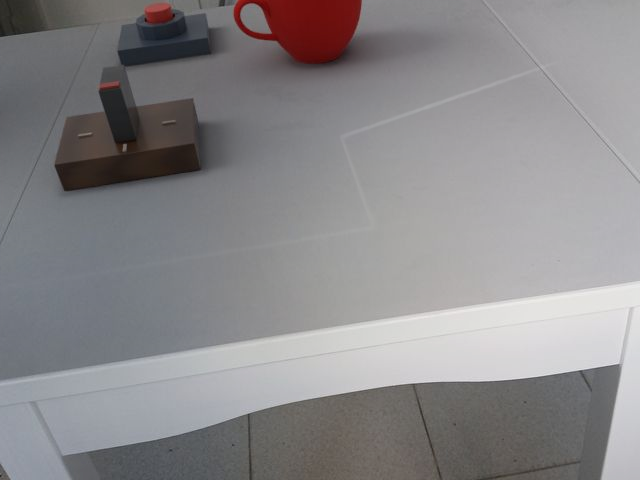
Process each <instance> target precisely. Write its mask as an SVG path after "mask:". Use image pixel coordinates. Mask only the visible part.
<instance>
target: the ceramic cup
mask: <svg viewBox="0 0 640 480" xmlns="http://www.w3.org/2000/svg"><path fill="white" fill-rule="evenodd" d="M249 4H252V5H256V6H258V7H259V8H260V9H261V11H262V12H263V15H264V19H265V21H266V24H267V26H268V29H269V31H270V33H266V32H265V33H262V32H257V31H253V30H251V29H249V28H248V27H247V26H246V25H245V24H244V22H243V21H242V20H243V19H242V17H241V16H242V15H241V13H242V10H243V8H244V7H245V6H247V5H249ZM362 5H363V0H237V1H236V3H235V4H234V7H233V13H232V14H233V19H234V23H235V25H236V26H237V27H238V28H239V30H240V31H241V32H242V33H243V34H245V35H246V36H248V37H250V38H253V39H256V40H260V41H270V42H277V43H278V45H279V46H280V47H281V48H282V49H283V50H284V51H285V52H287V54H288V55H290V56H291V57H292V59H293V60H294V61H297V62H298V63H303V64H322V63H327V62H330V61H333V60H335V59H337V58H339V57H340V56H341V55H342V54H343V52H344V50H345V49H346V47H348V45H349V44H350V42H351V40H352V39H353V37H354V35H355V34H356V33H355V32H356V30H357V28H358V25H359V22H360V17H361V12H362Z"/></svg>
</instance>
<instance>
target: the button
mask: <svg viewBox="0 0 640 480" xmlns="http://www.w3.org/2000/svg"><path fill="white" fill-rule="evenodd" d="M172 9H173V8H172V5H171V4H170V3H168V2H155V3H152V4H148V5H147V6H145V7H144V8H143V12H144V14H145V16H146V19H147V23H161V22H166V21H169V20H171V19H173V18H174V17H173V13H172Z"/></svg>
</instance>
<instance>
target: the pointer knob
mask: <svg viewBox="0 0 640 480" xmlns="http://www.w3.org/2000/svg"><path fill="white" fill-rule="evenodd" d="M130 83H131V82H130V80H129V76H128V73H127V70H126V66H124V65H121V64H119V65H113V66H107V67H102V71H101V77H100V81H99V86H98V90H97V91H98V95H99V98H100V101H101V104H102V107H103V111H105V114H106V117H107V120H108V123H109V126H110V129H111V132H112V135H113V139H114V142H115V143H120V142H127V141H133V140H136V139H137V128H138V117H139V114H138V110H137V104H136V100H135V97H134V94H133V90H132V87H131V84H130Z"/></svg>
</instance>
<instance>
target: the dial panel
mask: <svg viewBox="0 0 640 480" xmlns="http://www.w3.org/2000/svg"><path fill="white" fill-rule="evenodd" d="M195 104H196V103H195V100H194V98H193V97H189V98H183V99H178V100H177V99H176V100H171V101H164V102H157V103H151V104H143V105H138V106H137V105H136V107H137V110H138V114H139V117H138V128H137V139H136V140H133V141H127V142H120V143H115V142H114V139H113V135H112V132H111V129H110V126H109V123H108V120H107V117H106V114H105V111H104V110H103V111H98V112H97V111H96V112H90V113H86V114H85V113H84V114H77V115H71V116H70V115H69V116H66V118H65V123H64V126H63V129H62V133H61V137H60V141H59V145H58V148H57V152H56V155H55V159H54V163H53V166H54V168H55V171H56V173H57V177H58V178H59V181H60V184H61V186H62V189H63V191H64V192H66V191H72V190H79V189H85V188H91V187H98V186H99V187H100V186H105V185H112V184H117V183H124V182H131V181H136V180H137V181H138V180H143V179H149V178H155V177H161V176H167V175H175V174H180V173H188V172H195V171H200V170H201V169H202V167H201V144H200V143H201V142H200V121H199V117H198V113H197V110H196V105H195Z"/></svg>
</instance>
